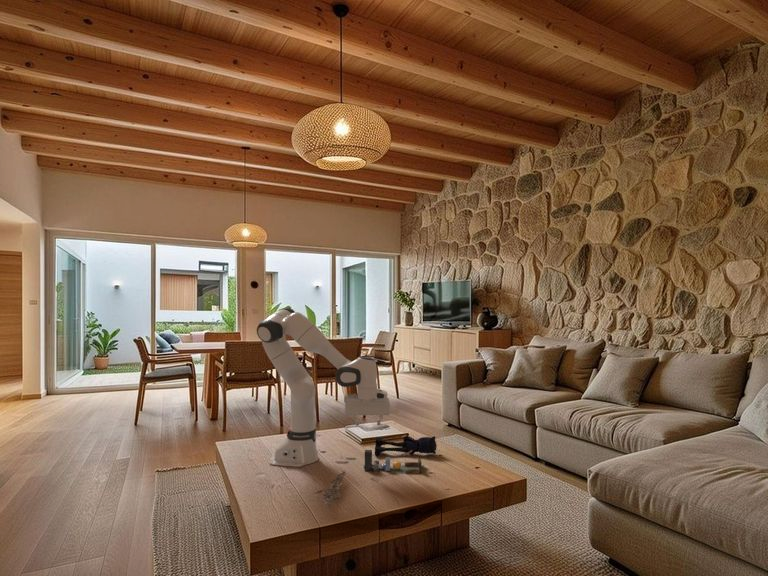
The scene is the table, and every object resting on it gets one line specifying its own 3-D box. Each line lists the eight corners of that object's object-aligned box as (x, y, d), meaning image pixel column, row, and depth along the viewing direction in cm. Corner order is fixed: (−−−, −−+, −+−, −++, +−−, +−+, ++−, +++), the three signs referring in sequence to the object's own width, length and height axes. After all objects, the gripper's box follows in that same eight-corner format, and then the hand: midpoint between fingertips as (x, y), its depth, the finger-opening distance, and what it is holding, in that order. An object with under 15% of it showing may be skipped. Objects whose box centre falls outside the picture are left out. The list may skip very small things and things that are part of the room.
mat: (392, 474, 194) (392, 473, 194) (392, 465, 204) (392, 465, 204) (425, 474, 194) (425, 473, 194) (423, 465, 204) (423, 465, 204)
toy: (375, 458, 221) (437, 457, 218) (372, 455, 213) (437, 454, 210) (375, 437, 226) (436, 436, 223) (373, 433, 218) (436, 432, 215)
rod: (363, 471, 197) (363, 452, 197) (364, 467, 202) (364, 449, 202) (390, 471, 197) (389, 452, 197) (390, 467, 202) (390, 449, 202)
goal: (405, 473, 194) (405, 461, 195) (404, 465, 203) (404, 454, 204) (421, 473, 194) (421, 461, 194) (420, 465, 203) (420, 454, 203)
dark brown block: (373, 472, 196) (373, 465, 196) (374, 467, 202) (374, 460, 203) (378, 472, 196) (378, 465, 196) (379, 467, 202) (379, 460, 202)
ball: (393, 471, 197) (392, 462, 197) (393, 468, 201) (393, 460, 201) (401, 471, 197) (400, 462, 197) (401, 468, 201) (400, 460, 201)
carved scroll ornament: (318, 516, 158) (317, 504, 158) (337, 480, 188) (336, 470, 188) (331, 516, 158) (331, 504, 158) (348, 480, 188) (347, 470, 188)
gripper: (343, 395, 197) (343, 427, 197) (390, 394, 197) (390, 426, 196) (344, 392, 204) (345, 423, 203) (390, 391, 203) (391, 422, 203)
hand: (368, 425), depth 200 cm, fingers open, 8 cm apart
